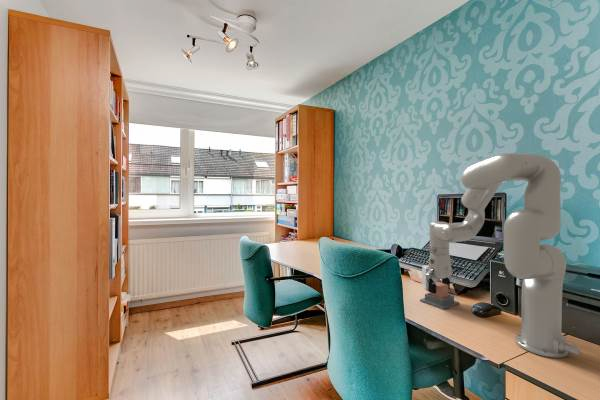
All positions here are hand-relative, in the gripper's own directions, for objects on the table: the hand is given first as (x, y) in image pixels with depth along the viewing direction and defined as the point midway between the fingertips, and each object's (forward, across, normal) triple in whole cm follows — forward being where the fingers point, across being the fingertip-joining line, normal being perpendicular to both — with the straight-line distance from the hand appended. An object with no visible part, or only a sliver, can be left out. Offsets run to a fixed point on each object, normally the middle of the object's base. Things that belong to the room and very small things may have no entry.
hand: (439, 290), depth 126 cm
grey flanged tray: (+5, 0, 0) cm, 5 cm away
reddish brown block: (+4, 0, 0) cm, 4 cm away
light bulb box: (+6, +15, +12) cm, 20 cm away
